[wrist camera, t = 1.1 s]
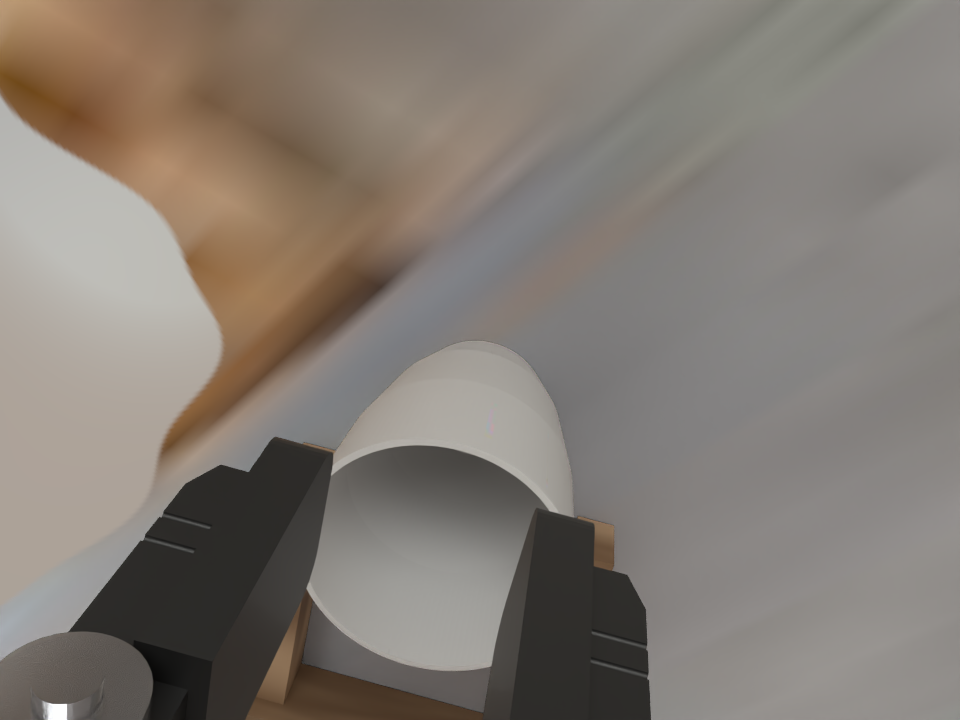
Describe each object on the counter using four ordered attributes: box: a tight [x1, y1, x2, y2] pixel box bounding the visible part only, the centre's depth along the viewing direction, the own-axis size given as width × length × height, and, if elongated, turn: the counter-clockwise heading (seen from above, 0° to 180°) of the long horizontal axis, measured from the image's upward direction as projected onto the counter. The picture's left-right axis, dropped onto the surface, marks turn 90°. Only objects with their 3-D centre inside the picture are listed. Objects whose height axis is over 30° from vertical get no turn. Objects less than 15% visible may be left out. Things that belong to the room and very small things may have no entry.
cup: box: [306, 341, 574, 671], centre depth 30 cm, size 8×8×10 cm
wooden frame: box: [245, 442, 614, 720], centre depth 37 cm, size 14×13×4 cm
